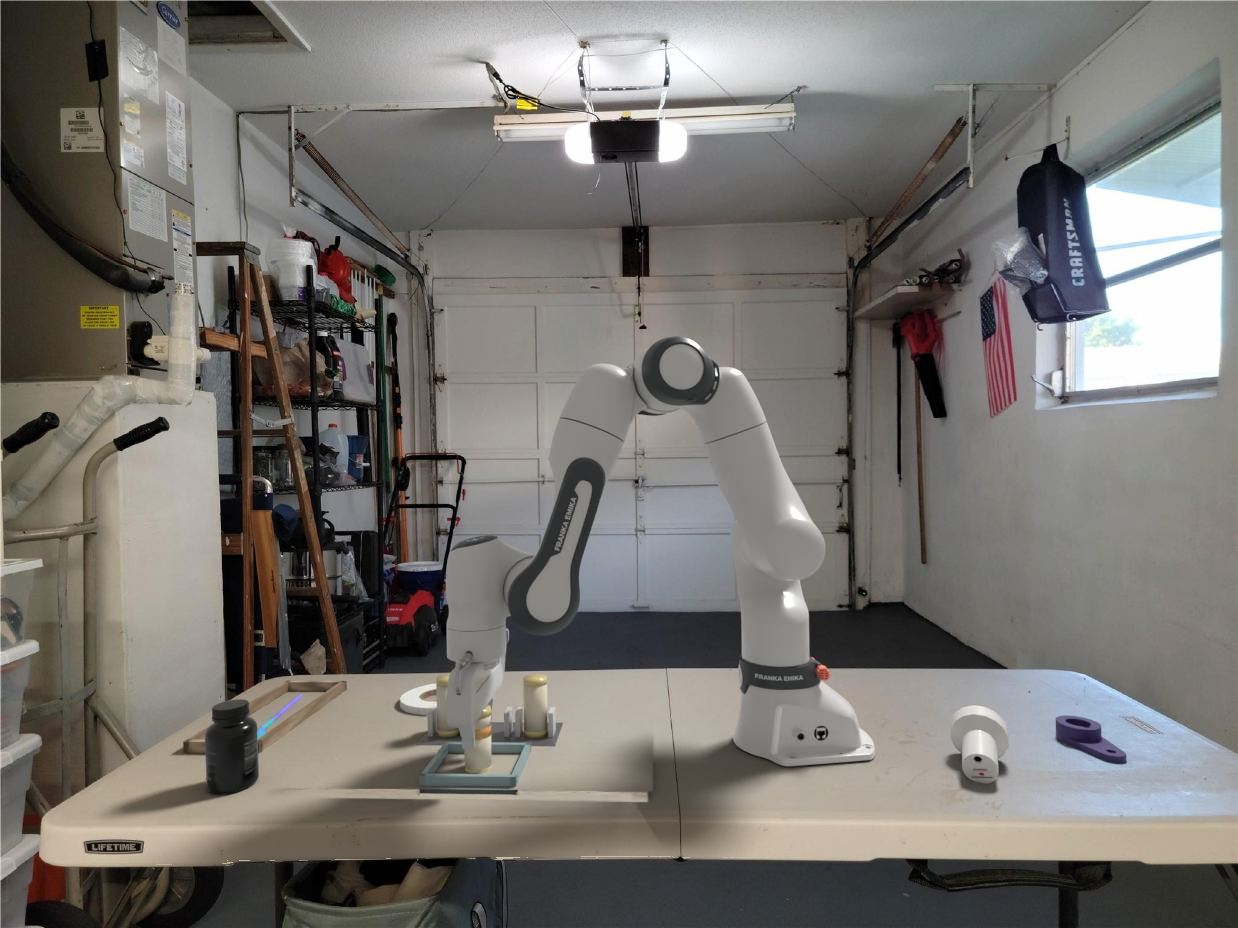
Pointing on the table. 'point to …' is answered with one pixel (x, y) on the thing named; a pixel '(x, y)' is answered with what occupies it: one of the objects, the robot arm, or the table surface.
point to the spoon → (277, 716)
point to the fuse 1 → (443, 708)
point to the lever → (1087, 738)
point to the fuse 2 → (535, 706)
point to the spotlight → (979, 741)
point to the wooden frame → (333, 690)
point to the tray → (474, 779)
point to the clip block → (499, 730)
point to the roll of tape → (418, 700)
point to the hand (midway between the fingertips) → (478, 734)
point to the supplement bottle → (231, 748)
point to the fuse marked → (481, 745)
